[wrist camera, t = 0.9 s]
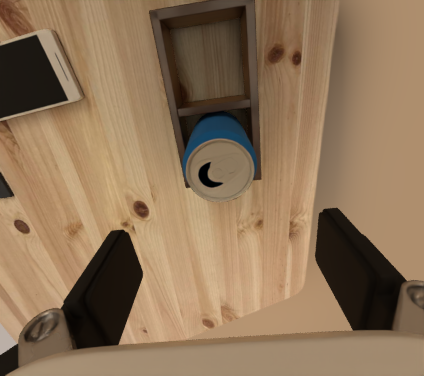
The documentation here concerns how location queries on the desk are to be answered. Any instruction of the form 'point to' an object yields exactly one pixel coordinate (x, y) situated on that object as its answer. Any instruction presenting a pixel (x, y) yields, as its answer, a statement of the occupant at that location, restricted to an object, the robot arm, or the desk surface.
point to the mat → (4, 188)
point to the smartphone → (35, 75)
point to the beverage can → (219, 158)
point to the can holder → (162, 24)
